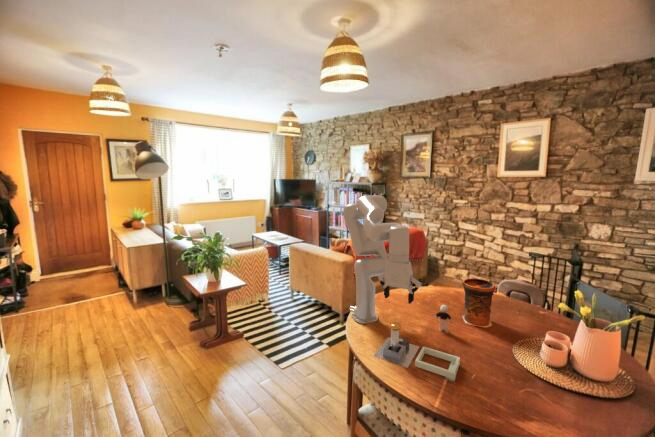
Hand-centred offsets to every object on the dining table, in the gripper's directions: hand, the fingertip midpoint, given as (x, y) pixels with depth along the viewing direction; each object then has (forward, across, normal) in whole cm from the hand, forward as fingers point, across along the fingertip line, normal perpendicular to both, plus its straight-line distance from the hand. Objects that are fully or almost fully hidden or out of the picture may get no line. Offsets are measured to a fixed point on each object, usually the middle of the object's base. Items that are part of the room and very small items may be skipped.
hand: (398, 299), depth 118 cm
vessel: (+24, +21, +48) cm, 58 cm away
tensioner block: (+24, -1, +2) cm, 24 cm away
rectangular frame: (+24, +15, +2) cm, 29 cm away
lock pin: (+23, -1, -1) cm, 23 cm away
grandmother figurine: (+24, +10, +30) cm, 40 cm away
